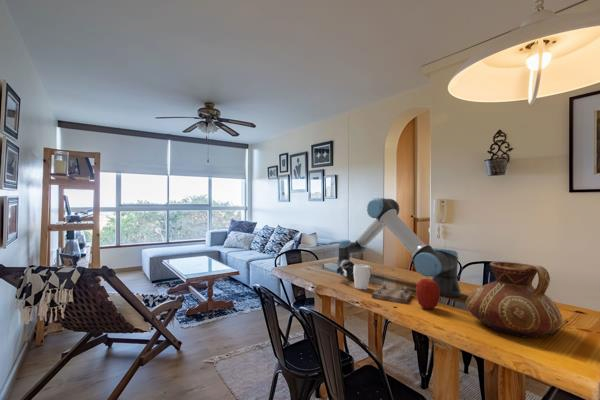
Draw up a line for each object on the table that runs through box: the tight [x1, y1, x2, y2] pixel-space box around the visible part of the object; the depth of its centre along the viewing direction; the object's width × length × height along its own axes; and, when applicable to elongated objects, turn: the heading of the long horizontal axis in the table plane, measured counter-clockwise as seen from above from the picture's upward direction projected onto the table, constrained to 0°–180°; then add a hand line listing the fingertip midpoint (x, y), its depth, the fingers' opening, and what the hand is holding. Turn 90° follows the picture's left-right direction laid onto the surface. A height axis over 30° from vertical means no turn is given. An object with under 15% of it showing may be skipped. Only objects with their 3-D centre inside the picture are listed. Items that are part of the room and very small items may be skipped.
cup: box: [352, 263, 371, 290], centre depth 168 cm, size 9×9×12 cm
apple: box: [415, 278, 441, 310], centre depth 137 cm, size 10×10×14 cm
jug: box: [465, 261, 563, 338], centre depth 119 cm, size 30×30×25 cm
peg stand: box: [371, 283, 413, 305], centre depth 153 cm, size 16×16×4 cm
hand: (357, 274), depth 173 cm, fingers open, 13 cm apart
